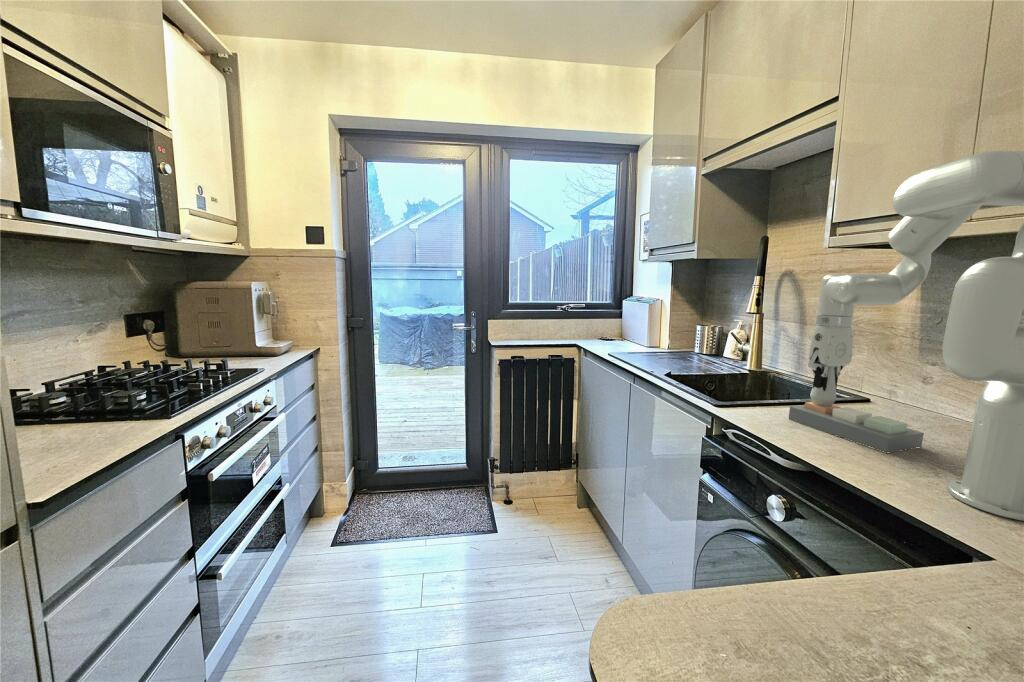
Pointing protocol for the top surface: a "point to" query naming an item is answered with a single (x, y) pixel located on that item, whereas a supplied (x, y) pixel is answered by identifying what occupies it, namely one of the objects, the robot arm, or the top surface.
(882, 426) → the key sage
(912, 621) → the top surface
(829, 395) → the salt shaker
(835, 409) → the key cream
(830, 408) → the key terracotta
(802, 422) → the keypad
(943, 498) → the top surface
